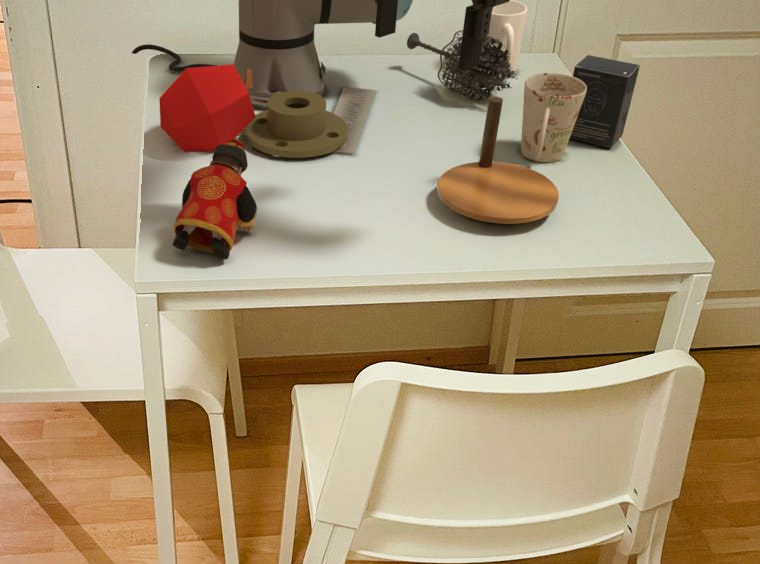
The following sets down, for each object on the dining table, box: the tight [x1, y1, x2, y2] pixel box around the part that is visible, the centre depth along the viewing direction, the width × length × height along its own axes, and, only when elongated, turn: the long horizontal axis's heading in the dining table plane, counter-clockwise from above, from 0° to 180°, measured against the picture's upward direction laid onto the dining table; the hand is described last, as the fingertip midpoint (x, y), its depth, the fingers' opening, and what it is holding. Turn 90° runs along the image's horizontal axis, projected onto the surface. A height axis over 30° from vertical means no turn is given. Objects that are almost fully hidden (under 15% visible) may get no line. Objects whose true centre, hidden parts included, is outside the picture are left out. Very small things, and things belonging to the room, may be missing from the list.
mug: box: [520, 72, 587, 163], centre depth 131 cm, size 8×13×10 cm, turn 163°
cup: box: [472, 0, 528, 78], centre depth 154 cm, size 8×12×10 cm
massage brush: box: [406, 29, 518, 102], centre depth 149 cm, size 9×22×9 cm
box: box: [569, 54, 641, 149], centre depth 136 cm, size 8×6×11 cm
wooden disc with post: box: [436, 96, 560, 225], centre depth 120 cm, size 16×16×10 cm
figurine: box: [172, 138, 258, 260], centre depth 115 cm, size 10×10×15 cm
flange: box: [244, 91, 348, 159], centre depth 136 cm, size 5×15×15 cm
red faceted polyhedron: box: [158, 63, 256, 153], centre depth 134 cm, size 12×12×15 cm
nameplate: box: [329, 87, 375, 156], centre depth 143 cm, size 23×1×5 cm
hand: (425, 50), depth 109 cm, fingers open, 12 cm apart
